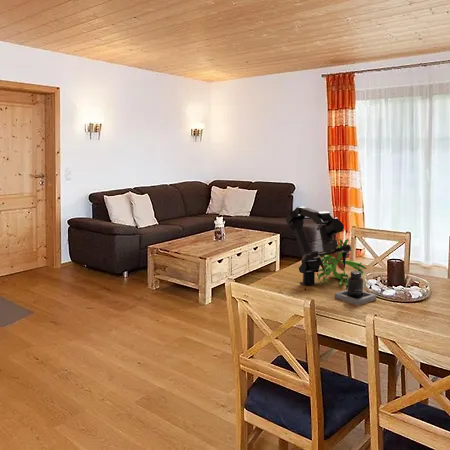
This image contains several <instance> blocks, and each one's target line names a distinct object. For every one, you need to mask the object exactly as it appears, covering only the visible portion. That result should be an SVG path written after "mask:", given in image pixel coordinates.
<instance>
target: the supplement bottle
mask: <svg viewBox="0 0 450 450" xmlns="http://www.w3.org/2000/svg"><path fill="white" fill-rule="evenodd" d="M347 278H348V285H347V289H346V290H347V296H349V297H352V298H355V299H360V298H362V297H363V291H364V279H363V276H362V273H361V272H360V271H358V270H357V271H356V270H352V271H350V276H348V277H347Z"/></svg>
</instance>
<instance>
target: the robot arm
mask: <svg viewBox="0 0 450 450" xmlns="http://www.w3.org/2000/svg"><path fill="white" fill-rule="evenodd" d="M306 218H309V219H311V220H312V221H313V222H314V223H315V224H316V225H318V226H317V228H316V231H319V236H320V241H321V247H322V251H318V250H316V251H312V249H311V246H310V244H309V241H308V238H307V236H306V233H305V230H304V228H303V227H304V224H305V223H304V222H305V221H304V220H305V219H306ZM285 222H286V224H287V226H288V228H289V229H290V230H292V231H293V232H294V236H295V239H296V242H297V245H298V247H299V250H300V252H301V255H302V257H301V264H300V266H298V272H299V273H301V274H302V281H300V282H299V283H300V284H302V285H303V286H306V287H309V286H316V285H318V283H317V282H315V281H316V280H315V279H316V277H315V276H316V274H315V273H319V272H320V271H319V270H320V267H321V269H323V271H324V272H325V268H324V264H323V263H324V261H323V262H322V259H321V258H322V257H323V256H325V255H333V253H337V252H338V253H339V252H340V253H341V251H342V257H343V260H342V261H343V266H344V269H346V264H345V263H346V260H347V258H348V257H347V254H350V252H352V246H351V244H348V243H347V245H343V244H342V246H341V248H339V247H338V246H339V244H338V243H339V242H338V239H337V238H335V237H334V235H337V234H339V233H341V232H343V231H344V227H345V225H344V224H343V222H342V221H341V220H339V218H338V217H333V216H332V214H331V212H330V211H327V210H325V211H324V210H321V211H319V210H318V211H317V210H315V209H312V208H309V207H306V206H296V207H295V208H294V210H291V212H289V213H288V214H287V216H286V218H285ZM350 246H351V247H350ZM337 247H338V248H337ZM336 248H337V249H336ZM334 250H335V251H334ZM346 257H347V258H346ZM318 271H319V272H318ZM323 271H322V272H323Z"/></svg>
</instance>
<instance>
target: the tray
mask: <svg viewBox="0 0 450 450" xmlns="http://www.w3.org/2000/svg"><path fill="white" fill-rule="evenodd" d="M334 298H335V299H336V300H339V301H343V302H346V303H349V304H352V305H355V306H361V305H364V304H367V303H370V302H373V301H375V300H377V294H375V293H371V292H367V291H364V290H363V297H362V298H360V299H355V298H352V297H349V296H347V289H345V290H341V291H337V292H335V293H334Z"/></svg>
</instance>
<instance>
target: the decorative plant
mask: <svg viewBox="0 0 450 450" xmlns="http://www.w3.org/2000/svg"><path fill="white" fill-rule="evenodd" d="M338 241H339V244H338V247H336V249H337V248H341V246H343V245H348V242H349V239H348V238H346V239H345V240H344V242H343V239H338ZM350 247H351V248H352V246H351V245H350ZM333 251H335V250H333ZM350 255H352V254H351V253H348V254H347V257H346V263H345V265H347V266H349V267H352V268H353V269H354V271H360V272H361V273H362V277H363V276H364V271H363V270H367V267H366V266H364V265H363V263H362V262H360V261H359V262H356V261H353V260H347V258H349V257H350ZM320 258H321V259H322V262H323V265H324V268H325V272H324V271H323V269H322V268H321V269H320V268H319V271H318V272H316V276H317V277H318V278H317V279H318V281H319V283H320V284H322V281H323V282H324V281H326V282H327V284H328V285H330V286H331V284H330V282H329V281H328V279H327V278H326V277H327V276H330V277H332V278H335V279H338V280H340V282H338V284H339V285H342V284H343V282H345V286H348V278H349V275H348V274H347V273H346V272H345V271H346V270H345V268H344V266H343V257H342V251H341V252H337V253H332V254H327V255H322V256H321V257H320ZM337 267H338V268H339V269H340V270H341V271H342V273H340V272H339V273H338V272H337ZM319 272H320V273H319ZM331 273H332V275H333V276H332V275H331ZM321 277H322V281H321Z"/></svg>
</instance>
